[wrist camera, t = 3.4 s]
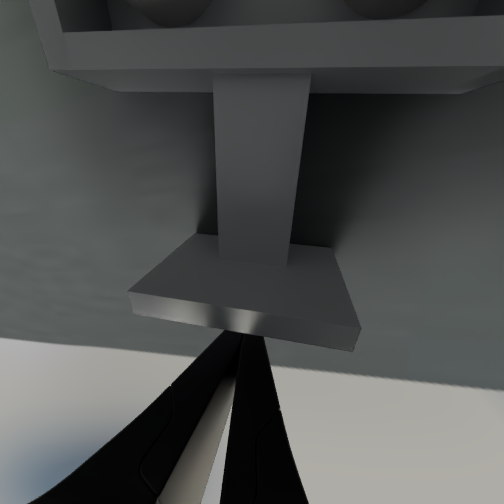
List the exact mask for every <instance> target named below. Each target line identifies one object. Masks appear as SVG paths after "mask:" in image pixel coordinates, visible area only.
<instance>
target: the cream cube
mask: <svg viewBox="0 0 504 504" xmlns="http://www.w3.org/2000/svg"><path fill="white" fill-rule="evenodd" d="M426 1H428V0H344V2H345V3H346V4H347V5H348V6H349V7H350V8H351V9H353V10H354V11H355V12H357V13H358V14H361V15H363V16H365V17H369V18H373V19H387V18H393V17H397V16H400V15H403V14H405V13H408V12H410V11H412V10H414V9H415V8H417V7H419V6H421V5H422V4H423V3H425V2H426Z"/></svg>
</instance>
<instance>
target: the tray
mask: <svg viewBox="0 0 504 504" xmlns="http://www.w3.org/2000/svg"><path fill="white" fill-rule="evenodd" d="M28 1H29V5H30V8H31V11H32V14H33V18H34V21H35V24H36V27H37V31H38V34H39V37H40V40H41V44H42V47H43V50H44V54H45V57H46V60H47V63H48V67H49V70H51V71H54V72H57V73H60V74H63V75H67V76H70V77H73V78H76V79H79V80H82V81H86V82H89V83H92V84H95V85H98V86H101V87H104V88H108V89H111V90H114V91H117V92H213V99H214V127H215V156H216V184H217V213H218V236H216V235H207V234H198V233H195V234H193V235H192V236H191V237H190V238H189V239H188V240H186V241H185V242H184V243H183V244H182V245H181V246H179V247H178V248H177V249H176V250H175V251H174V252H172V253H171V254H170V255H169V256H168V257H167V258H165V259H164V260H163V261H162V262H161V263H160V264H158V265H157V266H156V267H155V268H154V269H153V270H151V271H150V272H149V273H148V274H147V275H145V276H144V277H143V278H142V279H141V280H140V281H138V282H137V283H136V284H135V285H134V286H133V287H131V288H130V289H129V290H128V291H127V293H128V296H129V300H130V303H131V307H132V311H133V314H138V315H144V316H149V317H155V318H161V319H166V320H172V321H178V322H184V323H189V324H195V325H201V326H207V327H212V328H218V329H224V330H230V331H235V332H241V333H247V334H252V335H258V336H264V337H270V338H275V339H281V340H287V341H293V342H298V343H304V344H310V345H315V346H321V347H327V348H333V349H338V350H344V351H350V352H353V350H354V347H355V344H356V342H357V339H358V336H359V333H360V331H361V326H360V323H359V320H358V318H357V315H356V312H355V309H354V307H353V304H352V301H351V299H350V296H349V293H348V290H347V288H346V285H345V282H344V280H343V277H342V274H341V271H340V269H339V266H338V263H337V261H336V258H335V255H334V252H333V250H332V248H327V247H317V246H308V245H299V244H290V235H291V228H292V220H293V212H294V205H295V197H296V189H297V182H298V174H299V166H300V159H301V151H302V143H303V136H304V128H305V120H306V113H307V105H308V97H309V93H365V94H463V93H466V92H469V91H472V90H475V89H478V88H481V87H484V86H487V85H490V84H494V83H497V82H500V81H503V80H504V0H428V1H426V2H425V3H423V4H422V5H421V6H419V7H417V8H415V9H414V10H412V11H410V12H408V13H405V14H403V15H400V16H397V17H393V18H387V19H373V18H369V17H365V16H363V15H361V14H358V13H357V12H355V11H354V10H353V9H351V8H350V7H349V6H348V5H347V4H346V3H345V2H344V0H211V2H210V4H209V5H208V7H207V8H206V9H205V11H204V12H203V13H202V14H201V15H200V16H199V17H198V18H197V19H195V20H194V21H193V22H191V23H189V24H187V25H184V26H181V27H165V26H162V25H158V24H156V23H155V22H153V21H151V20H150V19H148V18H147V17H145V16H144V15H143V14H142V13H140V12H139V11H138V10H137V9H136V8H134V7H133V6H132V5H131V4H129V3H128V2H127V1H126V0H28Z"/></svg>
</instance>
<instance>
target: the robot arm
mask: <svg viewBox="0 0 504 504" xmlns="http://www.w3.org/2000/svg"><path fill="white" fill-rule="evenodd" d="M232 402H233V406H232V413H231V421H230V429H229V436H228V445H227V453H226V459H225V467H224V475H223V483H222V490H221V497H220V504H309V503H308V500H307V497H306V494H305V491H304V488H303V486H302V483H301V479H300V477H299V474H298V470H297V468H296V464H295V461H294V458H293V455H292V451H291V448H290V445H289V441H288V437H287V433H286V430H285V426H284V422H283V417H282V413H281V410H280V405H279V401H278V396H277V392H276V388H275V383H274V379H273V375H272V371H271V366H270V362H269V358H268V353H267V349H266V345H265V341H264V336H258V335H252V334H247V333H241V332H235V331H230V330H224V331H223V332H222V333H221V334H220V335H219V336H218V337H217V338H216V339H215V340H214V341H213V342H212V343H211V344H210V345H209V346H208V347H207V348H206V349H205V350H204V351H203V352H202V353H201V354H200V355H199V356H198V357H197V358H196V359H195V360H194V362H193V363H191V365H190V366H189V367H188V368H187V369H186V370H185V371H184V372H183V373H182V374H181V375H180V376H179V377H178V378H177V379H176V380H175V381H174V382H173V383H172V384H171V386H169V387H168V388H167V389H166V390H165V391H164V392H163V393H162V394H161V395H160V396H159V397H158V398H157V399H156V400H155V401H154V402H153V403H151V404H150V405H149V406H148V407H147V408H146V409H145V410H144V411H143V412H142V413H141V414H140V415H139V416H138V417H136V418H135V419H134V420H133V421H132V422H131V423H130V424H129V425H127V426H126V427H125V428H124V429H123V430H122V431H120V432H119V433H118V434H117V435H116V436H115V437H113V438H112V439H111V440H110V441H109V442H107V443H106V444H105V445H104V446H103V447H102V448H100V449H99V450H98V451H97V452H96V453H95V454H93V455H92V456H91V457H90V458H89V459H88V460H86V461H85V462H84V463H83V464H82V465H80V467H78V468H77V469H76V470H75V471H74V472H72V473H71V474H70V475H69V476H67V477H66V478H65V479H64V480H62V481H61V482H60V483H58V484H57V485H56V486H54V487H53V488H52V489H50V490H49V491H47V492H46V493H44V494H43V495H41V496H40V497H38V498H36V499H35V500H33V501H31V502H30V503H28V504H201V500H202V498H203V494H204V491H205V488H206V485H207V482H208V478H209V475H210V472H211V469H212V466H213V462H214V459H215V456H216V453H217V449H218V446H219V443H220V440H221V437H222V434H223V431H224V427H225V424H226V421H227V418H228V415H229V411H230V408H231V405H232Z"/></svg>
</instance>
